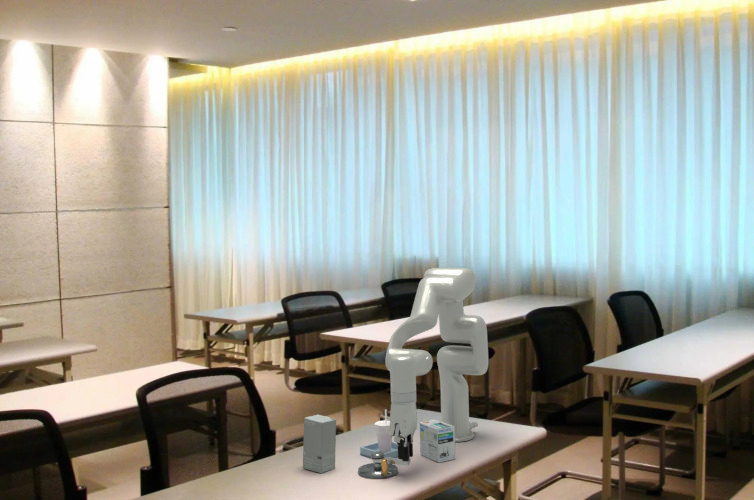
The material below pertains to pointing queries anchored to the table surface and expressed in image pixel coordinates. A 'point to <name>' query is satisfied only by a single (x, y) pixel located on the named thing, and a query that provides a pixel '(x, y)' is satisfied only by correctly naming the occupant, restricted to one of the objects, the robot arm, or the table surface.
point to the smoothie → (384, 435)
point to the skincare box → (319, 443)
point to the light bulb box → (437, 440)
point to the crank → (390, 458)
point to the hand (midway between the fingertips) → (405, 457)
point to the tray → (374, 448)
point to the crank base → (378, 470)
